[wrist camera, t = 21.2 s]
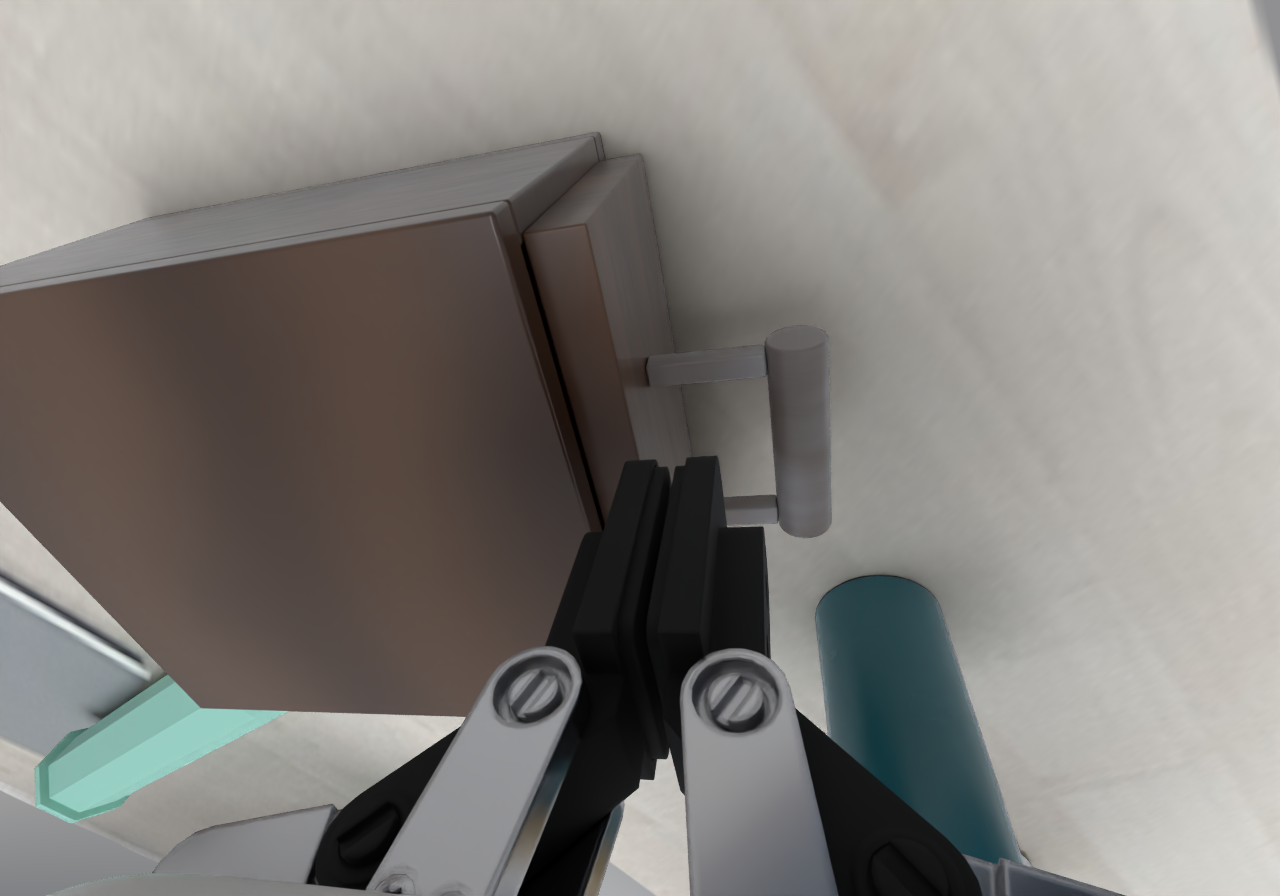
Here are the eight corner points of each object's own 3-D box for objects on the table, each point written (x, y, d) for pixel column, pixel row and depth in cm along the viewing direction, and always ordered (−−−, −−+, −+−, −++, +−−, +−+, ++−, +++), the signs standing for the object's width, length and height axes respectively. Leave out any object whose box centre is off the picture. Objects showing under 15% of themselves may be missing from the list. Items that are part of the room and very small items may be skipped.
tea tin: (936, 656, 27) (1046, 1024, 17) (815, 655, 28) (851, 1000, 18) (947, 572, 24) (1086, 956, 14) (812, 575, 25) (852, 932, 15)
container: (199, 710, 26) (10, 822, 37) (331, 727, 30) (125, 824, 41) (239, 583, 30) (56, 719, 41) (352, 613, 34) (157, 730, 44)
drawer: (808, 123, 15) (843, 182, 10) (819, 519, 22) (843, 686, 17) (192, 234, 19) (-33, 320, 14) (366, 538, 26) (264, 676, 21)
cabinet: (600, 131, 17) (493, 210, 10) (676, 521, 24) (647, 723, 17) (145, 218, 20) (-176, 323, 13) (338, 536, 28) (200, 709, 21)
